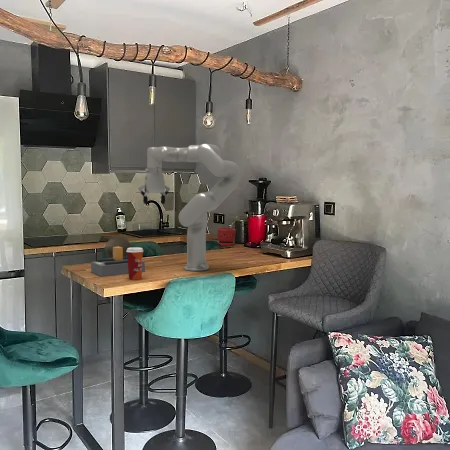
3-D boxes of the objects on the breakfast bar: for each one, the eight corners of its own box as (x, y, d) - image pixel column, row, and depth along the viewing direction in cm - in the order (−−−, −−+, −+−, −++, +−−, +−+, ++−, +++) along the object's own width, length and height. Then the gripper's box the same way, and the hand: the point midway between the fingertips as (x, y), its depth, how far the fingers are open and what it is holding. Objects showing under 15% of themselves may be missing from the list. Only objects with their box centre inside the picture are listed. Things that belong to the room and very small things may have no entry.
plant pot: (229, 246, 320) (229, 229, 319) (213, 245, 327) (213, 228, 326) (239, 244, 331) (239, 228, 330) (223, 243, 338) (223, 227, 337)
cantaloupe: (103, 263, 249) (103, 236, 248) (130, 262, 254) (129, 235, 253) (106, 268, 236) (106, 239, 234) (134, 266, 241) (134, 238, 239)
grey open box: (144, 271, 226) (144, 258, 226) (101, 276, 214) (101, 263, 213) (132, 267, 238) (132, 255, 237) (91, 272, 225) (90, 259, 224)
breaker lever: (122, 263, 224) (122, 247, 223) (117, 264, 222) (116, 248, 222) (118, 262, 228) (118, 246, 227) (113, 263, 226) (112, 246, 226)
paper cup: (139, 280, 205) (138, 249, 203) (123, 279, 207) (123, 249, 205) (146, 277, 212) (146, 247, 211) (131, 276, 214) (131, 246, 213)
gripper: (141, 170, 233) (141, 204, 234) (172, 171, 242) (172, 204, 243) (136, 170, 239) (136, 203, 241) (166, 171, 248) (166, 203, 250)
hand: (154, 203), depth 242 cm, fingers open, 9 cm apart
